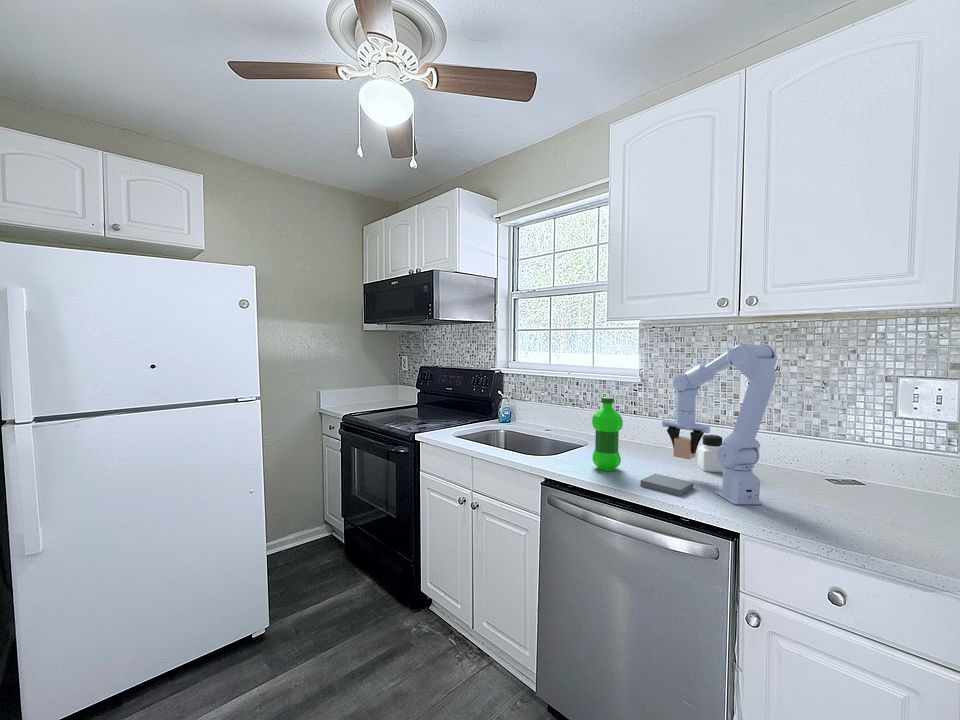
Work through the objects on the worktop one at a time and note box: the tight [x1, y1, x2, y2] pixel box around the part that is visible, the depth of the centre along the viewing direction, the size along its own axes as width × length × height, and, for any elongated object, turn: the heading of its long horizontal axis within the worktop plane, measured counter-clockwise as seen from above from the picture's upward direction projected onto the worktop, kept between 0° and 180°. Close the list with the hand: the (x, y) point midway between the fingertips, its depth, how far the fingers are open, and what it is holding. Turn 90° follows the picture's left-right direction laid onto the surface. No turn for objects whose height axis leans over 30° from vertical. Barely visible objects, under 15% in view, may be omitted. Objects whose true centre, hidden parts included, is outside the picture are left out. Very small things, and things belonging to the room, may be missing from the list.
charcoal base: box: [640, 473, 695, 497], centre depth 132 cm, size 12×10×2 cm
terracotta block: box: [673, 435, 697, 460], centre depth 142 cm, size 5×5×6 cm
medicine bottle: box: [697, 433, 723, 473], centre depth 151 cm, size 7×7×12 cm
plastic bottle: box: [591, 396, 624, 472], centre depth 151 cm, size 10×10×25 cm
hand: (684, 451), depth 142 cm, fingers closed on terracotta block, 5 cm apart
